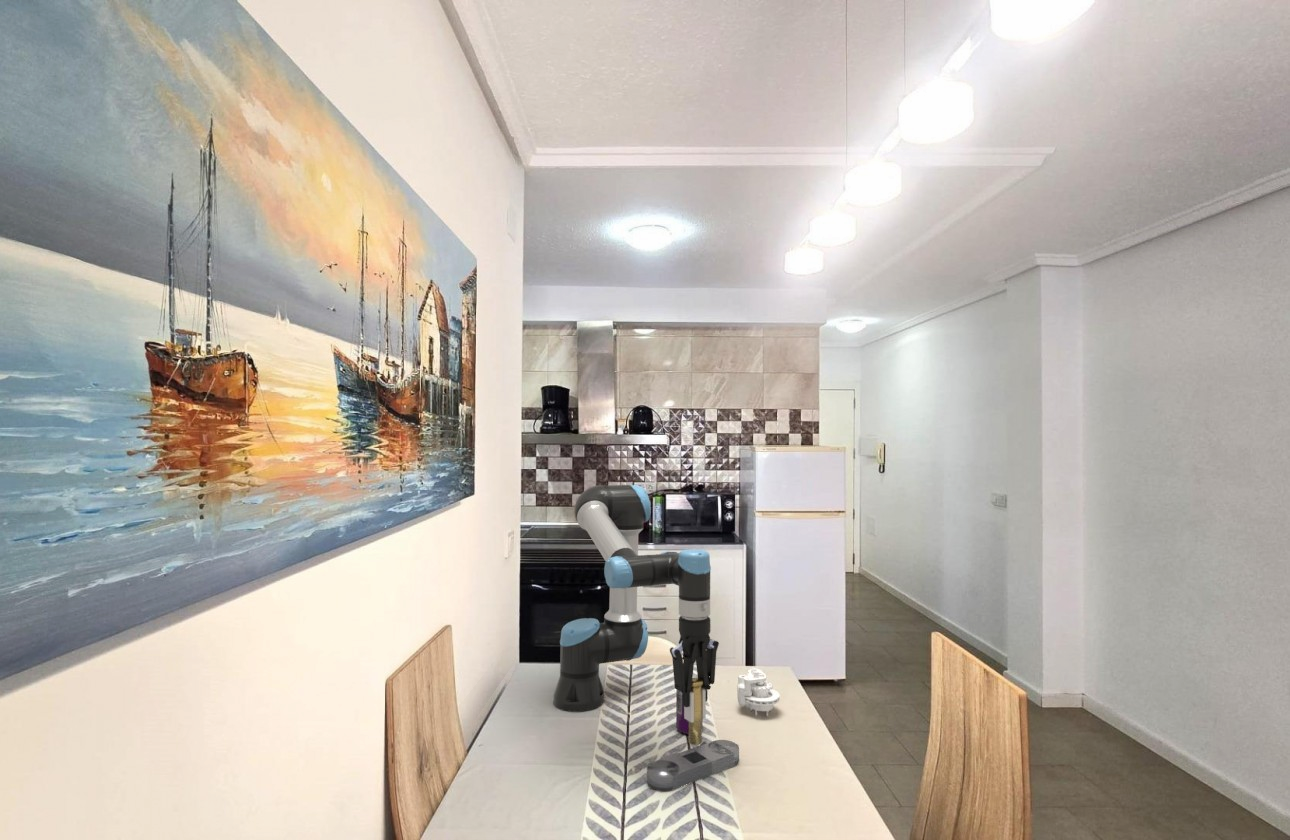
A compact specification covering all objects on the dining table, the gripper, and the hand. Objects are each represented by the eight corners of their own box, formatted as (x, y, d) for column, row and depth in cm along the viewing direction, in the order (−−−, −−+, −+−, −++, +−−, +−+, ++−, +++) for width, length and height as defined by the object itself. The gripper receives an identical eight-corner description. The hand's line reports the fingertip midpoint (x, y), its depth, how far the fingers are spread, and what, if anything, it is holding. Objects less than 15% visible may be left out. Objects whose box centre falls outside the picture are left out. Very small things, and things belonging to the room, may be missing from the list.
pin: (683, 740, 139) (683, 679, 140) (696, 736, 141) (696, 676, 142) (694, 747, 135) (693, 684, 136) (706, 742, 138) (706, 681, 139)
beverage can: (701, 737, 154) (701, 690, 155) (674, 734, 156) (674, 688, 157) (703, 725, 161) (703, 680, 162) (678, 723, 163) (678, 678, 164)
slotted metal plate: (640, 779, 134) (640, 766, 134) (724, 749, 148) (724, 737, 148) (659, 795, 128) (659, 780, 128) (745, 761, 142) (745, 749, 142)
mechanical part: (777, 723, 163) (777, 679, 164) (734, 716, 167) (734, 674, 168) (781, 707, 174) (781, 666, 175) (741, 701, 178) (740, 661, 178)
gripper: (677, 624, 133) (677, 732, 131) (730, 614, 142) (731, 715, 140) (658, 617, 139) (658, 720, 137) (709, 608, 148) (710, 705, 146)
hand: (694, 718), depth 138 cm, fingers closed on pin, 3 cm apart
